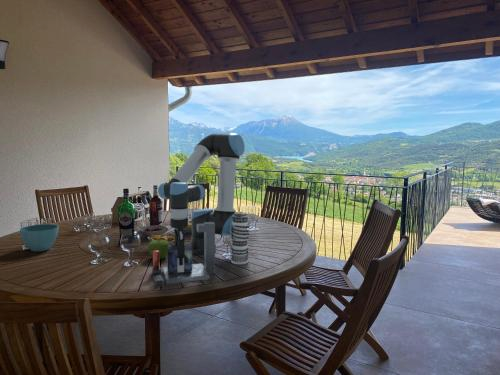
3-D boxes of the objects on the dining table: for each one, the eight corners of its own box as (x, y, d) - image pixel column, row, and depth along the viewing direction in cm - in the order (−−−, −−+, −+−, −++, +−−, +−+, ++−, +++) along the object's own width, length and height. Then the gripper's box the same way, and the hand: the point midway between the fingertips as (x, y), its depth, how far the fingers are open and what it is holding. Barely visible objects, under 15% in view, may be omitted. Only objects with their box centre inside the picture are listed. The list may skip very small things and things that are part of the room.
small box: (167, 273, 149) (167, 249, 148) (167, 268, 155) (167, 245, 154) (192, 271, 152) (192, 247, 151) (191, 266, 158) (191, 244, 157)
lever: (152, 270, 156) (151, 250, 155) (160, 269, 157) (159, 249, 156) (152, 273, 153) (152, 252, 151) (161, 272, 154) (160, 251, 153)
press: (152, 271, 158) (151, 222, 155) (209, 266, 167) (209, 219, 164) (155, 286, 141) (154, 231, 138) (218, 279, 150) (219, 227, 147)
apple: (168, 254, 184) (168, 236, 183) (170, 260, 174) (170, 241, 173) (147, 256, 181) (147, 237, 180) (148, 262, 171) (147, 242, 170)
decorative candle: (252, 262, 174) (253, 212, 171) (238, 265, 168) (239, 214, 165) (241, 257, 181) (241, 210, 178) (226, 261, 175) (227, 212, 172)
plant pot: (49, 243, 202) (48, 222, 201) (66, 248, 192) (65, 226, 191) (14, 250, 187) (13, 228, 186) (30, 256, 177) (29, 233, 176)
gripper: (167, 214, 159) (168, 263, 161) (173, 222, 140) (173, 277, 143) (184, 213, 161) (184, 261, 164) (191, 221, 143) (191, 275, 145)
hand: (179, 269), depth 153 cm, fingers closed on small box, 7 cm apart
